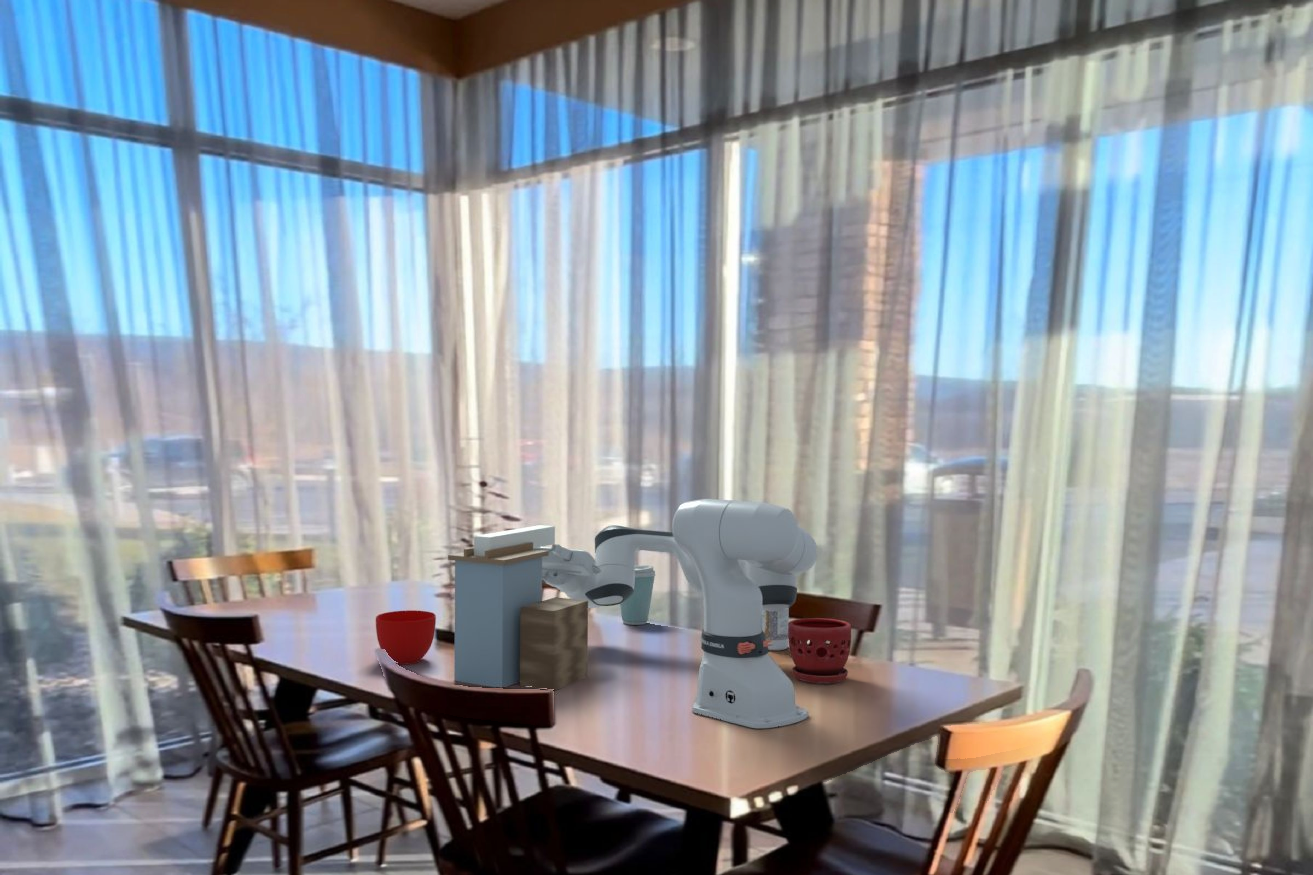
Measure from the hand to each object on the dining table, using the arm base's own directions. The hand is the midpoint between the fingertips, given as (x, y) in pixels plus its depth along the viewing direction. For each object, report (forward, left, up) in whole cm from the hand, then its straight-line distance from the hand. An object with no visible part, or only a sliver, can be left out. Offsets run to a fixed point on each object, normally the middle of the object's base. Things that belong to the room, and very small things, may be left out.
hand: (536, 545), depth 225 cm
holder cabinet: (-7, +13, -26) cm, 30 cm away
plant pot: (-47, -41, -26) cm, 67 cm away
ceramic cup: (+19, +23, -26) cm, 40 cm away
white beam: (-4, +7, 0) cm, 9 cm away
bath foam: (-21, -53, -26) cm, 63 cm away
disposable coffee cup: (+21, -43, -26) cm, 55 cm away
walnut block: (-16, +5, -26) cm, 31 cm away
